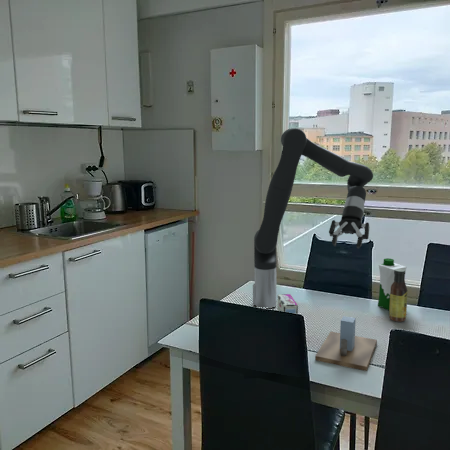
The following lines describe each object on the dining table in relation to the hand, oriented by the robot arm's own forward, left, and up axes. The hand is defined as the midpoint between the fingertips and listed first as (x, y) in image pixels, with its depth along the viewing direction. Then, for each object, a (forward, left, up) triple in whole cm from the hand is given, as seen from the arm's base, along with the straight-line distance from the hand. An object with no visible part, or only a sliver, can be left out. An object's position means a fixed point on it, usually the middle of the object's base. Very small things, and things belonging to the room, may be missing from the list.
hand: (345, 246), depth 162 cm
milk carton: (+14, +25, -31) cm, 42 cm away
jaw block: (+6, -22, -29) cm, 37 cm away
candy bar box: (-14, -25, -31) cm, 42 cm away
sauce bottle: (+18, +13, -31) cm, 38 cm away
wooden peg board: (+6, -22, -31) cm, 38 cm away
